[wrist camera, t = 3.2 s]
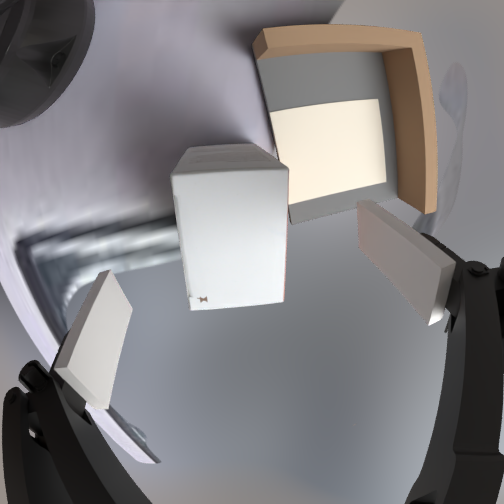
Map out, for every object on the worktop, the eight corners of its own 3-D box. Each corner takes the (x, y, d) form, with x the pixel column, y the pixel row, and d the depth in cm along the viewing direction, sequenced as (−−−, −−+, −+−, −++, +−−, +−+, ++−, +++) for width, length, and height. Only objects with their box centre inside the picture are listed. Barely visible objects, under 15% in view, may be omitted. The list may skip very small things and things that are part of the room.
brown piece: (290, 222, 25) (307, 248, 21) (251, 45, 17) (262, 28, 13) (405, 193, 25) (436, 211, 21) (387, 40, 17) (420, 32, 13)
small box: (257, 231, 25) (285, 306, 16) (194, 235, 25) (189, 315, 15) (256, 141, 21) (293, 166, 12) (186, 145, 21) (168, 173, 12)
